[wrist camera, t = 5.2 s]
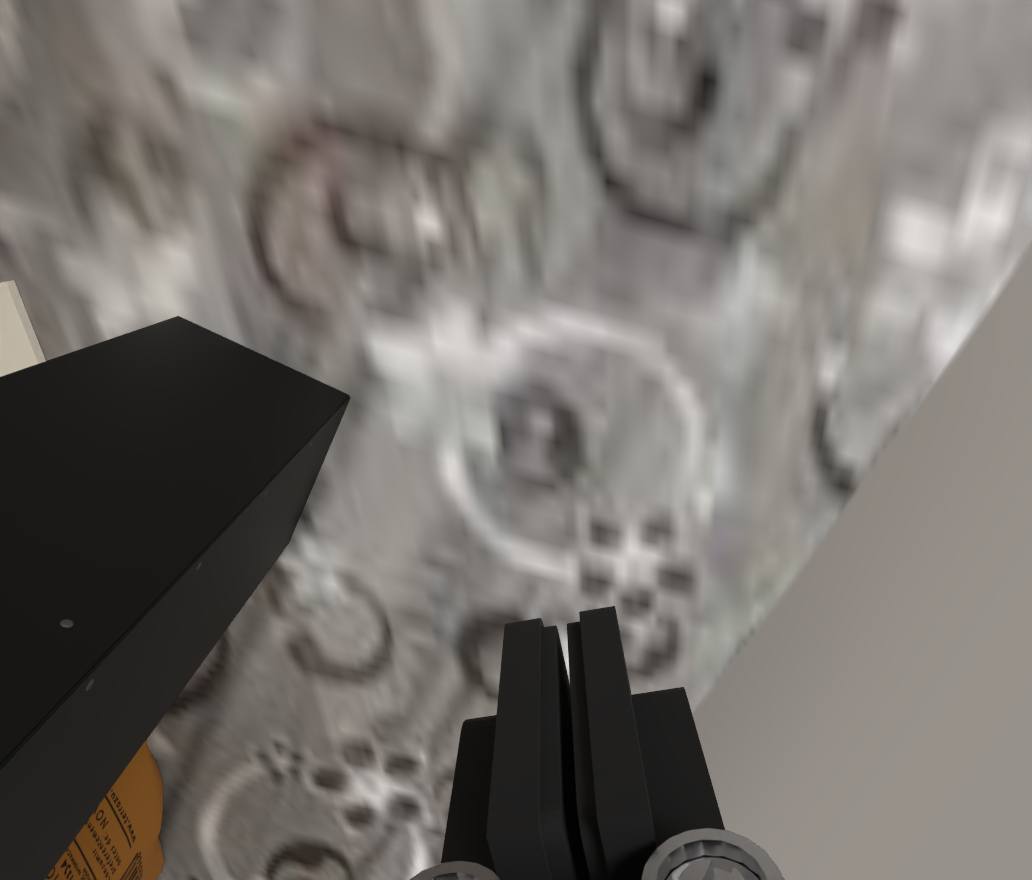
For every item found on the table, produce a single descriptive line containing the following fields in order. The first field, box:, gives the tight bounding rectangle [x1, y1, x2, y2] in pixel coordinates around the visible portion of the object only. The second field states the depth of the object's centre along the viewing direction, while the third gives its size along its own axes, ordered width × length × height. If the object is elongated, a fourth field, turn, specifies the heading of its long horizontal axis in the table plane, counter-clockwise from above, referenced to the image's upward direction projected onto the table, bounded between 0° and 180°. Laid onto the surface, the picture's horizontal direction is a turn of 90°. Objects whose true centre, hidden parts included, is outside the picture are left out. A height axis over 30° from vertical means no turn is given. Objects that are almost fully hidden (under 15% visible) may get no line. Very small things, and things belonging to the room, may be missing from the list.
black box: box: [0, 316, 350, 880], centre depth 19 cm, size 8×8×28 cm
